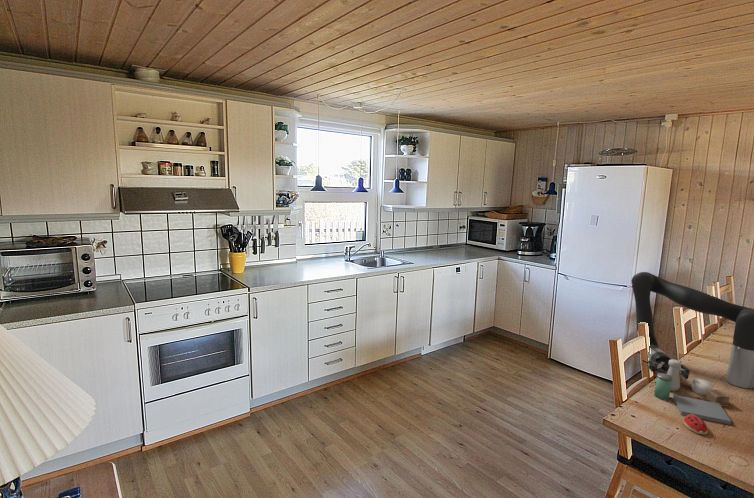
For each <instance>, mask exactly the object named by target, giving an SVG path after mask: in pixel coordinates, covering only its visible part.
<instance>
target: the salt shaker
mask: <svg viewBox="0 0 754 498" xmlns="http://www.w3.org/2000/svg"><path fill="white" fill-rule="evenodd" d="M681 364H682V363H681V361H680V360H678V359H673V358H671V360H669V365H670V367H669V370H668V371H666V374H668V375H670V376H672V382H671V389H670V392H674V393H675V392H677V391H678V390H679V389H680V388H681V380H680V379H681V378H680V374H679V368H680V367H681Z"/></svg>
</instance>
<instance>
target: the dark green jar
mask: <svg viewBox="0 0 754 498" xmlns="http://www.w3.org/2000/svg"><path fill="white" fill-rule="evenodd" d="M671 382H672V376H670V375H668V374H667V373H666V372H665V373H657V374H656V381H655V389H654V394H653V395H654V397H655V398H657V399H660V400H661V401H668V400H669V399H670V396H671V395H670V394H671V391H670V389H671Z"/></svg>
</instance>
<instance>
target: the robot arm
mask: <svg viewBox="0 0 754 498" xmlns="http://www.w3.org/2000/svg"><path fill="white" fill-rule="evenodd" d="M630 281H631V286H632V292H633V295H634V301H635V317H636V318H635V321H636V322H635V323H636V332H638V323H640V322H646V323H648V326H649V337H650V346H649V352H648V358H649V360H648V361H647V368H648V369H649V370H650V371H651V373H654V372H656V373H657V374H658V373H665V374H666V372H668V370H669V367H670V365H669V360H671V359H672V358H671V357H670V356H669V355H668V354H667V353H666V352H664V350H662V349H661V348H660V347H659V342H658V339H657V337H656V334H655V331H654V315H653V311H652V306H651V305H652V304H651V293H655V294H657V295H661V296H663V297H666V298H668V300H670V301H672V302H674V303H676V304H677V305H679V306H681V307H684V308H686V309H689V310H692V311H695V312H698V313H701V314H705V315H711V316H716V317H720V318H724V319H727V320H729V321H732V322H734V323H735V324H734V331H733V336H732V345H731V348H730V350H731V351H730V354H729V355H730V357H729V361H728V367H727V370H726V372H727V373H726V378H725V381H726V382H727V383H729V384H730V385H733V386H736V387H739V388H743V389H754V308H751V307H750V308H749V307H746V306H743V305H739V304H735V303H733V302H728V301H727V300H724V299H721V298H719V297H716V296H714V295H712V294H709V293H706V292H702V291H700V290H697V289H694V288H692V287H689V286H685V285H682V284H678V283H675V282H671V281H668V280H666V279H664V278H662V277H659V276H657V275H656V274H653V273H651V272H647V271H642V272H641V271H640V272H638V273H636V274H634V275H633V276H632V277H631V280H630ZM650 348H651V354H650ZM637 353H638V354H639V355H641V354H640V352H639V351H638V352H637ZM648 358H647V359H648ZM680 375H681V377H682V378H683V379H684V380H688V379H689V378H690V377H689V376H690V369H689V368H688V367H686V366H685V365H684V364H682V363H681V367H680V368H679V376H680Z"/></svg>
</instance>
